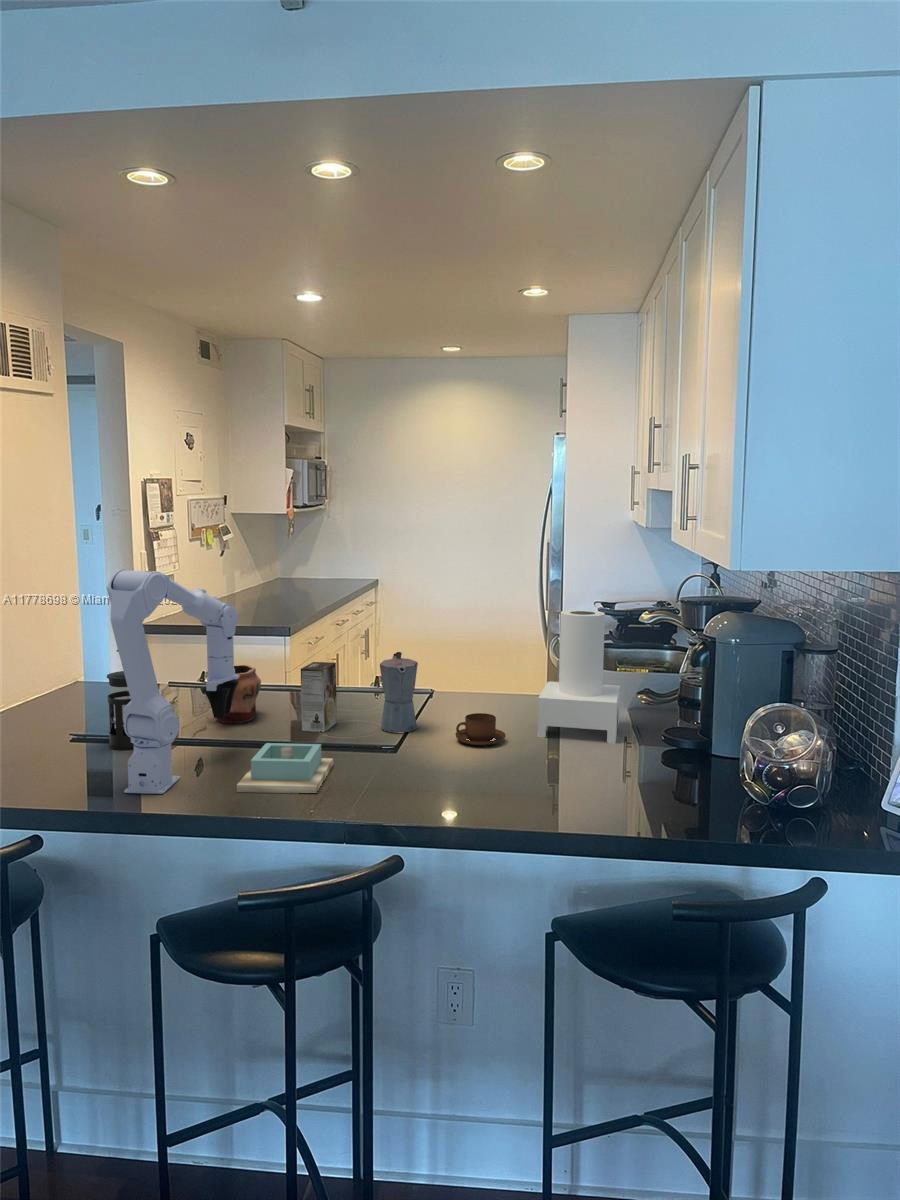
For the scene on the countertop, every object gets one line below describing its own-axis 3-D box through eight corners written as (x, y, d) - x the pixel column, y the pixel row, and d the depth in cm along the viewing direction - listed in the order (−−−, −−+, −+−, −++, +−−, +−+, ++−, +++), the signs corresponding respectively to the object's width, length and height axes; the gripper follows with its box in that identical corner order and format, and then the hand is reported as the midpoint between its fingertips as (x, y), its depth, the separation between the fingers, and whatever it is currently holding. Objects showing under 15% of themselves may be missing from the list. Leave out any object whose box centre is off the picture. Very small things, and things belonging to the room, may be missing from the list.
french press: (98, 749, 198) (93, 651, 195) (119, 737, 208) (115, 644, 205) (145, 751, 197) (141, 653, 194) (165, 740, 206) (161, 645, 203)
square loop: (309, 780, 173) (309, 761, 173) (251, 779, 174) (250, 760, 173) (321, 762, 185) (321, 744, 185) (266, 761, 186) (266, 743, 185)
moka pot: (385, 738, 208) (384, 657, 206) (373, 721, 223) (373, 646, 221) (423, 735, 211) (423, 655, 208) (409, 719, 226) (409, 644, 223)
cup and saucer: (478, 752, 198) (478, 726, 198) (445, 740, 208) (445, 715, 207) (515, 743, 206) (515, 718, 205) (482, 732, 215) (482, 708, 214)
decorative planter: (244, 732, 213) (242, 677, 211) (197, 730, 214) (195, 676, 212) (270, 712, 232) (269, 661, 231) (226, 710, 234) (225, 660, 232)
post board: (316, 793, 170) (316, 762, 169) (236, 792, 171) (236, 760, 170) (333, 765, 188) (332, 736, 187) (261, 763, 189) (260, 734, 188)
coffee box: (314, 721, 223) (313, 661, 221) (337, 723, 222) (336, 662, 220) (301, 731, 214) (300, 668, 212) (325, 732, 213) (324, 669, 211)
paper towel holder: (537, 737, 210) (539, 616, 206) (547, 718, 228) (549, 606, 224) (615, 743, 206) (619, 619, 202) (618, 723, 224) (622, 609, 220)
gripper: (228, 662, 184) (229, 724, 186) (247, 650, 198) (248, 707, 200) (195, 662, 184) (197, 723, 186) (217, 649, 199) (218, 706, 200)
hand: (222, 715), depth 193 cm, fingers open, 4 cm apart
